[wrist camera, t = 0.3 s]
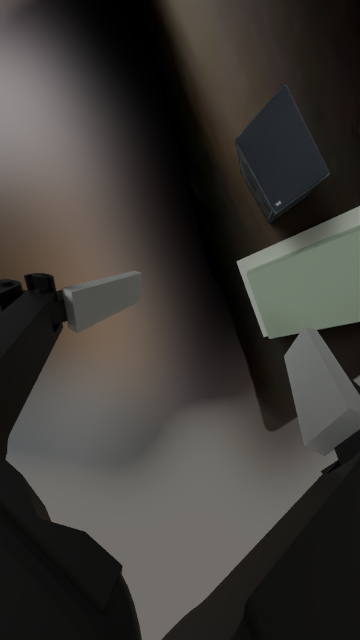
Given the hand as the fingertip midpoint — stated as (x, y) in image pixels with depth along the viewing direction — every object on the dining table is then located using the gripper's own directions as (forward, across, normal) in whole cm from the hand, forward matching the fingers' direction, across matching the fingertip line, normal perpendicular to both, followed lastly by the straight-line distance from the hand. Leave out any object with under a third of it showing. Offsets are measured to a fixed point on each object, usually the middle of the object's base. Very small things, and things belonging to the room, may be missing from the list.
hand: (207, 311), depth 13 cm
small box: (+27, +1, +14) cm, 30 cm away
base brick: (+25, +13, 0) cm, 28 cm away
